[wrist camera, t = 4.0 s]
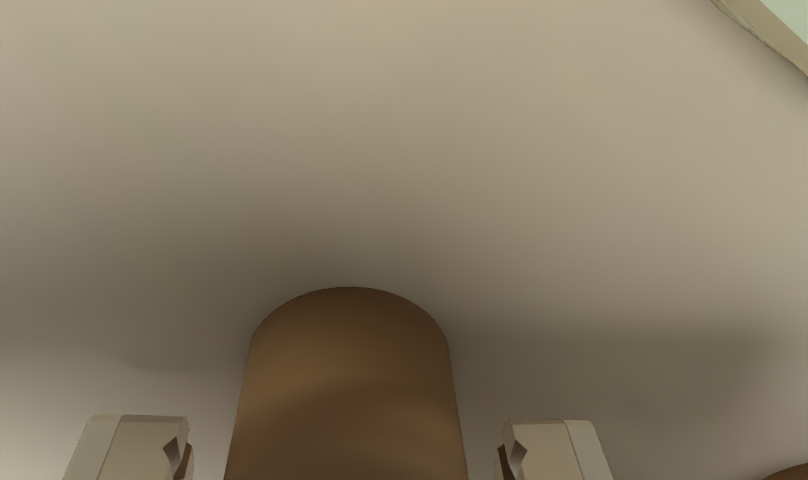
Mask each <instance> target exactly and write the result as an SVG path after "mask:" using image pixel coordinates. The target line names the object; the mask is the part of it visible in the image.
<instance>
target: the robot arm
mask: <svg viewBox="0 0 808 480" xmlns="http://www.w3.org/2000/svg"><path fill="white" fill-rule="evenodd" d="M188 433H189V425H188V420H187V417H178V416H151V415H122V414H94V415H93V416H92V417H91V419H90V420H89V421H88V422H87V424H86V426H85V429H84V431H83V433H82V435H81V438H80V440H79V442H78V445H77V447H76V449H75V451H74V454H73V456H72V458H71V461H70V463H69V465H68V468H67V470H66V472H65V474H64V477H63V479H62V480H192V478H193V469H194V455H193V448H192V446H191V445H190V444H189V443H187V442H186V441H187V437H188ZM502 436H503V441H504V444H503V445H502V446H500V447H499V448H498V449H497V454H496V458H495V472H494V477H495V480H614V479H613V476H612V474H611V471H610V468H609V466H608V463H607V460H606V458H605V455H604V452H603V450H602V447H601V444H600V442H599V439H598V436H597V434H596V431H595V428H594V426H593V424H592V423H591V422H590V421H589V420H559V419H508V420H507V421H506V422H505V423H504V427H503V430H502Z"/></svg>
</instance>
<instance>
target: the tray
mask: <svg viewBox="0 0 808 480" xmlns="http://www.w3.org/2000/svg"><path fill="white" fill-rule="evenodd" d="M712 2H713V3H714V4H715V5H716V6H717V7H718V8H719V9H720V10H721V11H723V12H724V13H725V14H727V15H728V16H729V17H731V18H732V19H733V20H735V21H736V22H737V23H739V24H740V25H741V26H743V27H744V28H745V29H747V30H748V31H749V32H751V33H752V34H753V35H755V36H756V37H757V38H759V39H760V40H761V41H763V42H764V43H765V44H767V45H768V46H769V47H771V48H772V49H773V50H775V51H776V52H777V53H779V54H780V55H782V56H783V57H785V58H787V59H788V60H790V61H791V62H792V63H793V64H795V65H796V66H797V67H798V68H799V69H800V70H801V71H802V72H803V73H805V74H806V75H807V76H808V0H712Z"/></svg>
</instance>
